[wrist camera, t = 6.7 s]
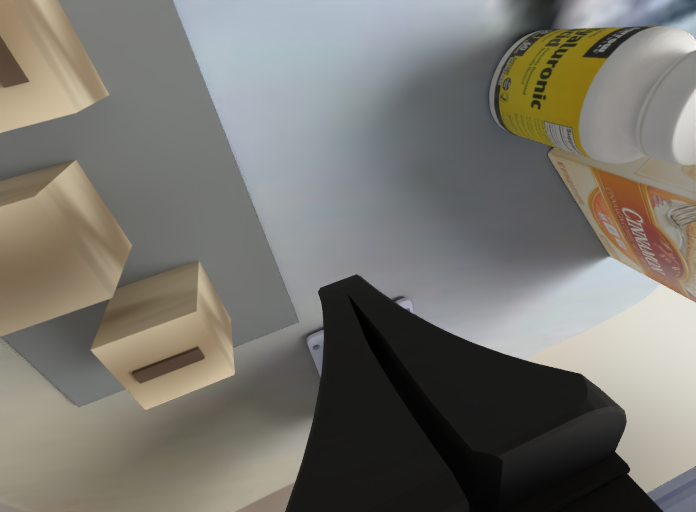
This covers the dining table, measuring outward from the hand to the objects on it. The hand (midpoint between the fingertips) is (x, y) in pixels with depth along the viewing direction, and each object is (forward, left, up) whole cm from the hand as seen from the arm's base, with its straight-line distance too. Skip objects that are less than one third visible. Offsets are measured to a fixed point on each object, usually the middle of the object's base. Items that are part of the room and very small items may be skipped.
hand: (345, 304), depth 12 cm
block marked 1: (-4, +8, -10) cm, 13 cm away
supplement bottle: (+2, -15, -10) cm, 18 cm away
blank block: (+2, +10, -10) cm, 14 cm away
